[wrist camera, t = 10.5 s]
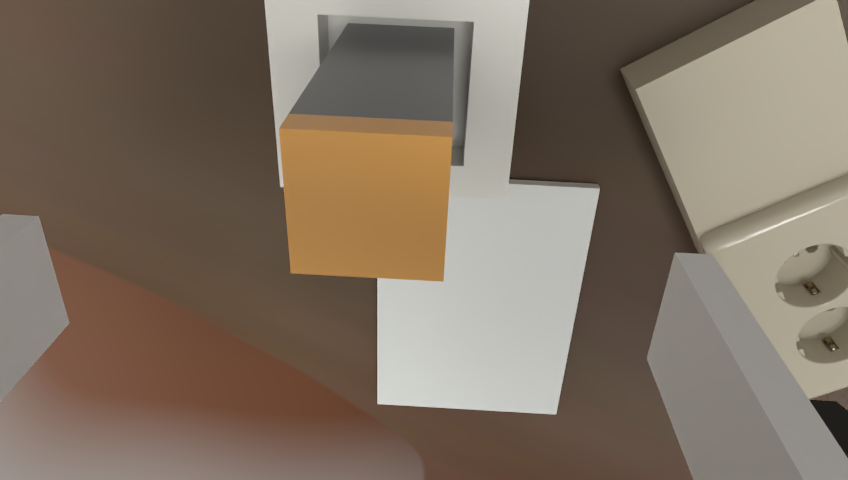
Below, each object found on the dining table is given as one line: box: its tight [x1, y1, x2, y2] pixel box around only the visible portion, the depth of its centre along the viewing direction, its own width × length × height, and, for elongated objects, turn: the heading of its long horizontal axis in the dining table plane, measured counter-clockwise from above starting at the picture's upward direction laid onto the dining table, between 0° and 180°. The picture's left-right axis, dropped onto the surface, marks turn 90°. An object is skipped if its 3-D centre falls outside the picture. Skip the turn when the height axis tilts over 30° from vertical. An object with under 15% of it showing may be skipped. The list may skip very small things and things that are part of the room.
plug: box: [279, 23, 454, 282], centre depth 21 cm, size 4×4×11 cm
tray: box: [377, 179, 600, 414], centre depth 33 cm, size 14×10×1 cm
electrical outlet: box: [620, 0, 848, 399], centre depth 28 cm, size 7×4×18 cm
